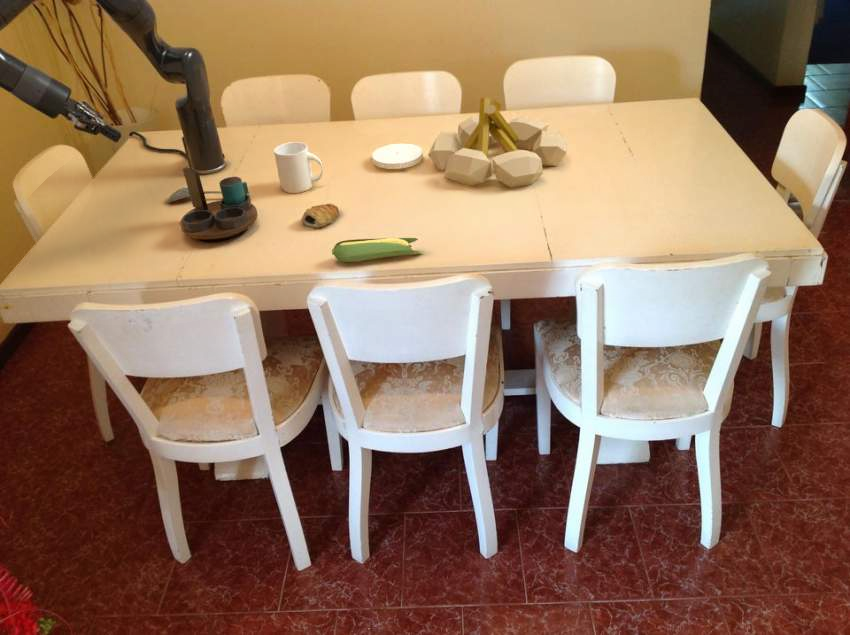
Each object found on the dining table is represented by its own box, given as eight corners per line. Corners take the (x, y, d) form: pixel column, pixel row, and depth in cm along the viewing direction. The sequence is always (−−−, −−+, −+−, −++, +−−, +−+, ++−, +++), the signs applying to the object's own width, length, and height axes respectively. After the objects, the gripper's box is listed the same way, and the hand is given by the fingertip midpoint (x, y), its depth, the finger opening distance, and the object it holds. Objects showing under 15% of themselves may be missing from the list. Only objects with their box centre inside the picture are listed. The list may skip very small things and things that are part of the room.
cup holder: (273, 215, 175) (264, 172, 168) (209, 247, 164) (197, 201, 158) (227, 196, 186) (217, 154, 179) (164, 224, 175) (151, 181, 169)
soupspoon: (175, 195, 195) (165, 208, 190) (171, 184, 193) (161, 196, 188) (253, 191, 192) (246, 204, 187) (250, 180, 190) (242, 192, 185)
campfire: (479, 131, 216) (477, 72, 207) (584, 150, 199) (588, 88, 189) (408, 175, 194) (402, 112, 184) (520, 201, 177) (520, 134, 167)
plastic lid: (413, 174, 195) (412, 165, 193) (365, 170, 199) (363, 161, 197) (430, 153, 205) (429, 145, 204) (383, 150, 209) (382, 142, 208)
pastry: (325, 208, 181) (323, 194, 179) (346, 214, 178) (344, 200, 176) (300, 224, 175) (297, 210, 173) (321, 231, 172) (318, 216, 169)
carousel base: (182, 236, 174) (180, 229, 173) (220, 213, 183) (218, 206, 182) (223, 247, 169) (221, 239, 167) (260, 222, 178) (258, 215, 176)
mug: (321, 194, 188) (315, 154, 182) (277, 194, 190) (269, 155, 184) (330, 179, 195) (324, 141, 189) (287, 180, 197) (279, 142, 191)
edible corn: (334, 256, 161) (331, 238, 159) (424, 247, 162) (423, 229, 159) (333, 268, 157) (330, 249, 155) (426, 259, 158) (424, 240, 155)
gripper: (47, 86, 147) (128, 134, 157) (53, 68, 157) (128, 115, 167) (28, 116, 149) (109, 162, 159) (35, 96, 159) (111, 141, 169)
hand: (119, 138), depth 163 cm, fingers closed
